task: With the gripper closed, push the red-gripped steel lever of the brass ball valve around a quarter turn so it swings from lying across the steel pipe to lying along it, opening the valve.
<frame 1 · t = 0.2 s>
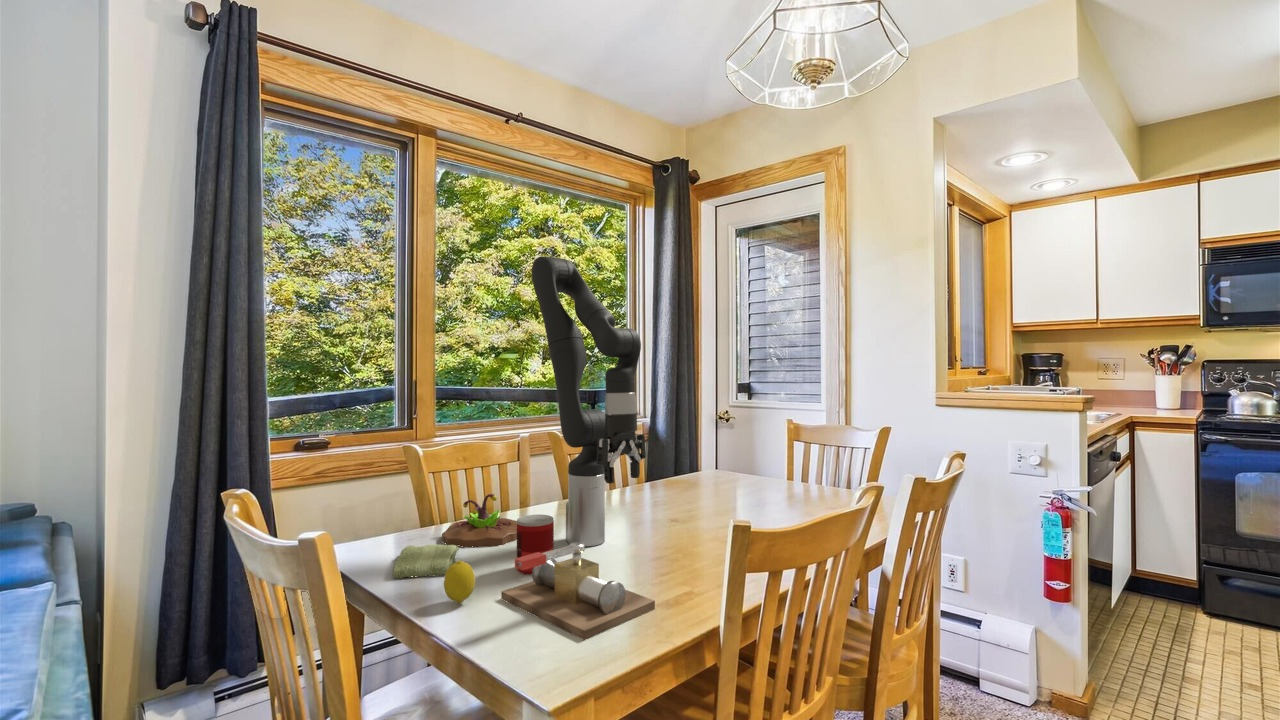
hand: (622, 480, 139), 17 cm above the table, tool pointing down, fingers open, 8 cm apart
washcloth: (426, 567, 132), on the table
valve body: (576, 603, 110), resting on walnut board
valve lever: (552, 554, 106), point 11 cm above the table, hinge at 0.0°
lemon: (459, 604, 110), on the table
plant: (484, 538, 154), on the table
walnut board: (576, 603, 110), on the table
canned food: (535, 570, 129), on the table
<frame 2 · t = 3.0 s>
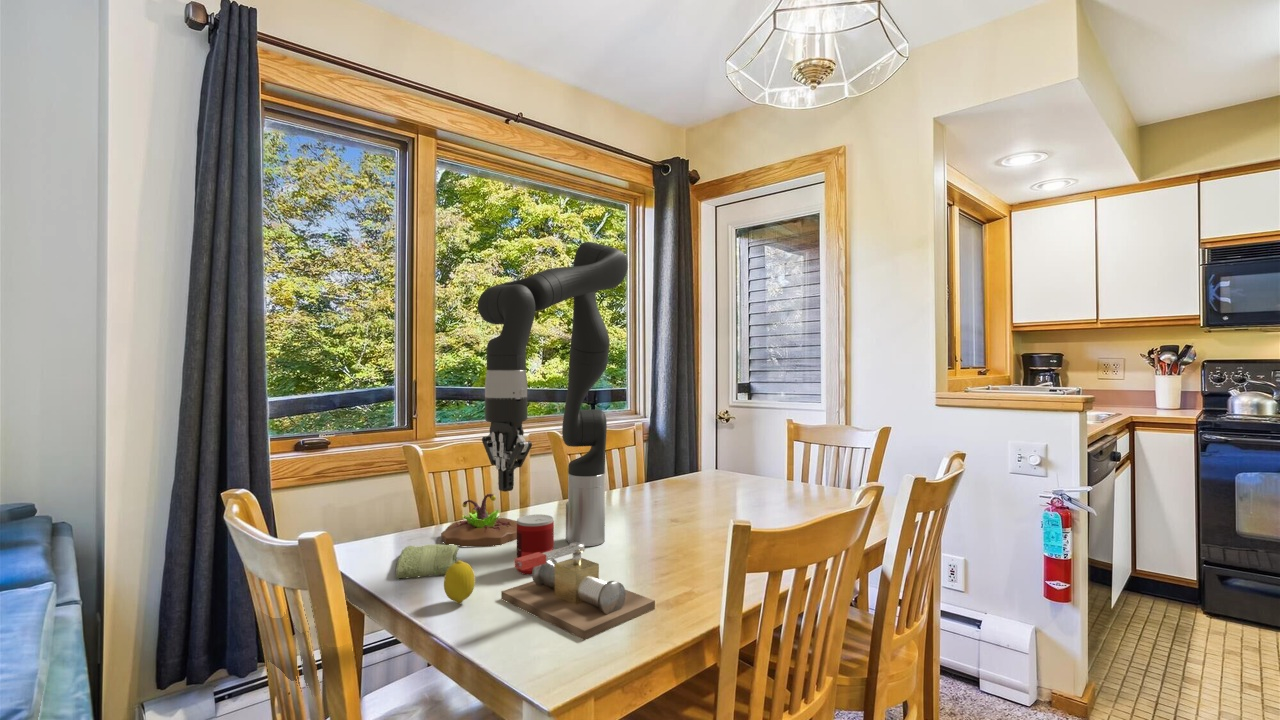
hand: (506, 490, 107), 22 cm above the table, tool pointing down, fingers closed
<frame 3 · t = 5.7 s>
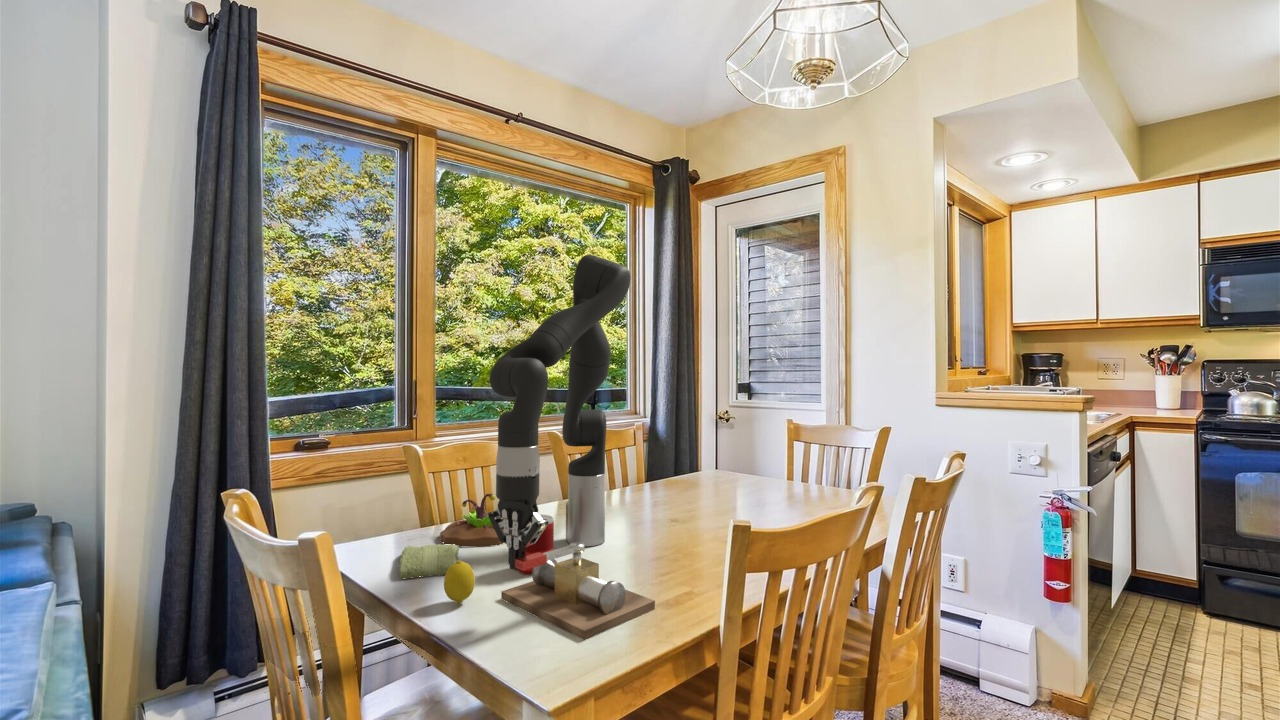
hand: (517, 568, 104), 9 cm above the table, tool pointing down, fingers closed
valve lever: (552, 554, 106), point 10 cm above the table, hinge at 1.0°, touching gripper
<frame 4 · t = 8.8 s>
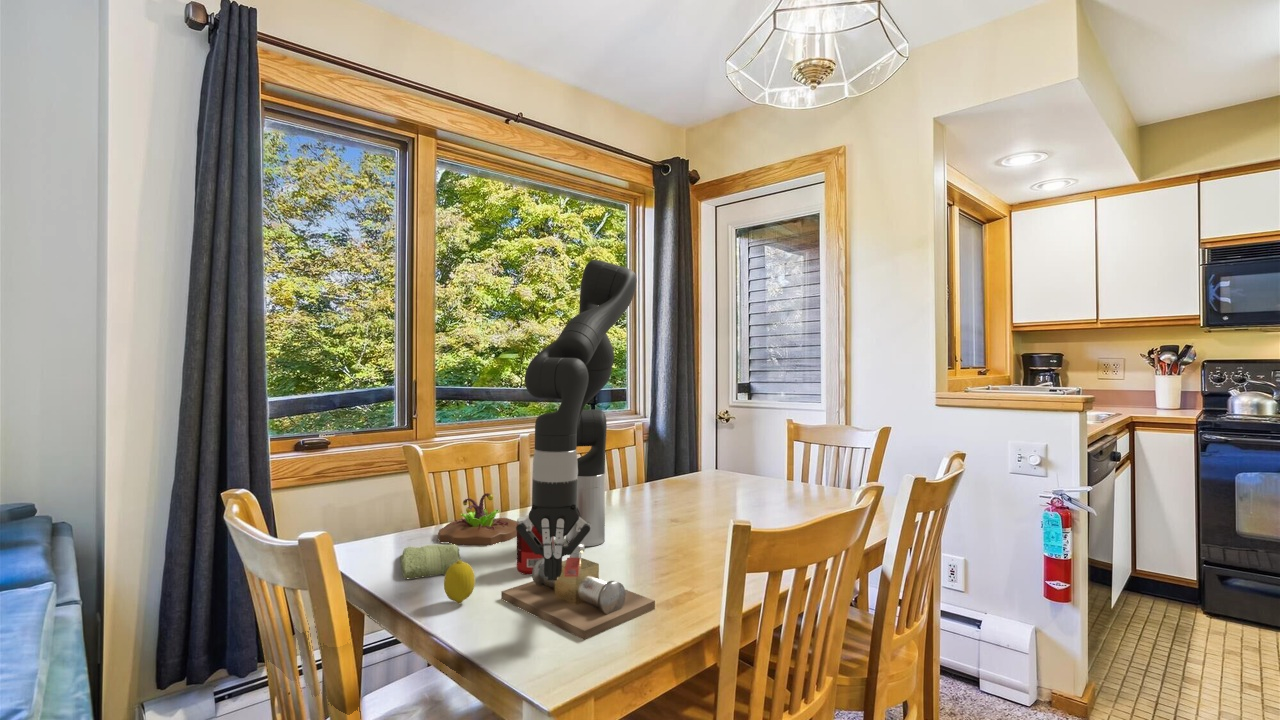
hand: (553, 578, 99), 9 cm above the table, tool pointing down, fingers closed
valve lever: (574, 557, 104), point 10 cm above the table, hinge at 45.7°, touching gripper
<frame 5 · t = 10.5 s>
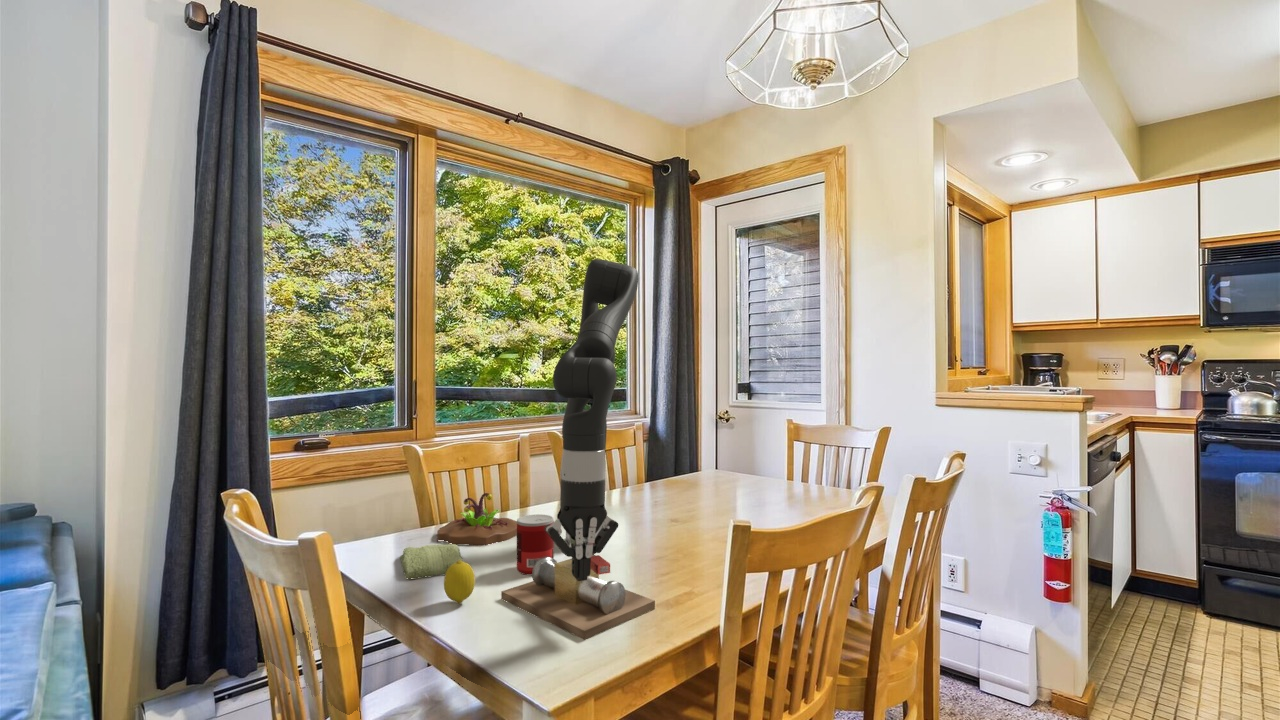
hand: (581, 579, 99), 9 cm above the table, tool pointing down, fingers closed
valve lever: (588, 556, 105), point 11 cm above the table, hinge at 70.0°, touching gripper
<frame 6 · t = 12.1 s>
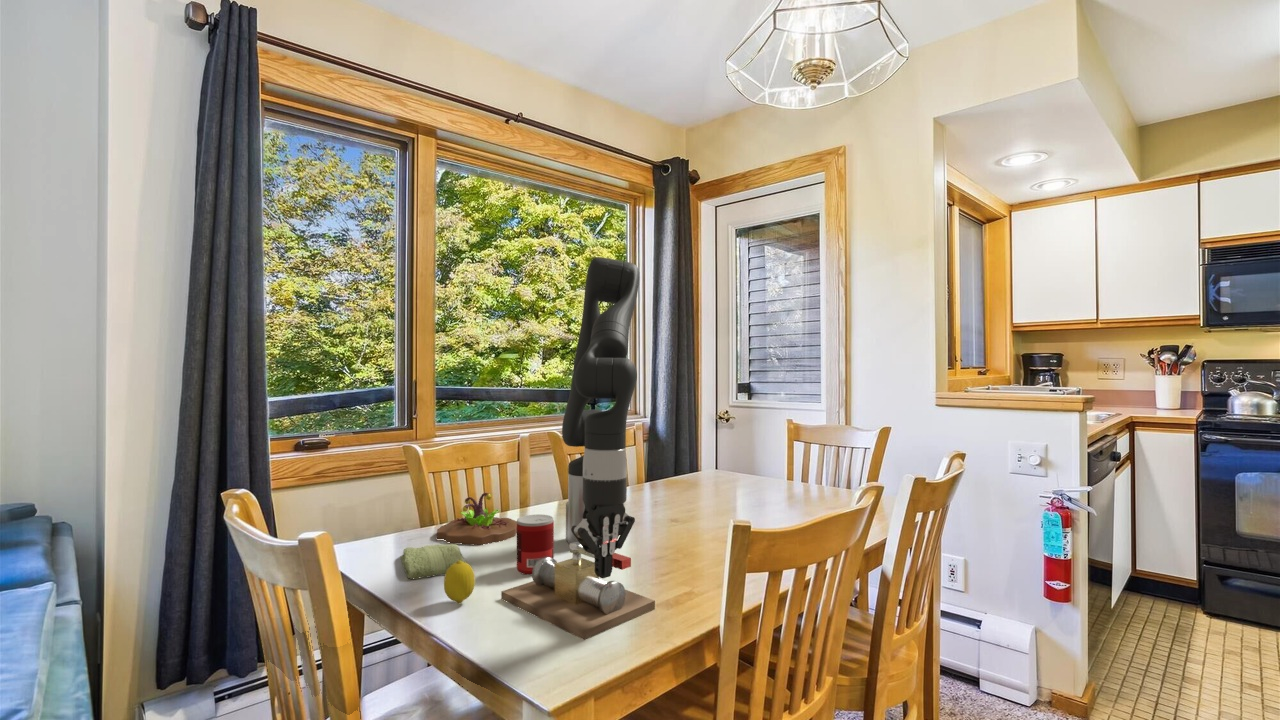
hand: (603, 576, 100), 9 cm above the table, tool pointing down, fingers closed
valve lever: (598, 554, 106), point 11 cm above the table, hinge at 90.3°, touching gripper
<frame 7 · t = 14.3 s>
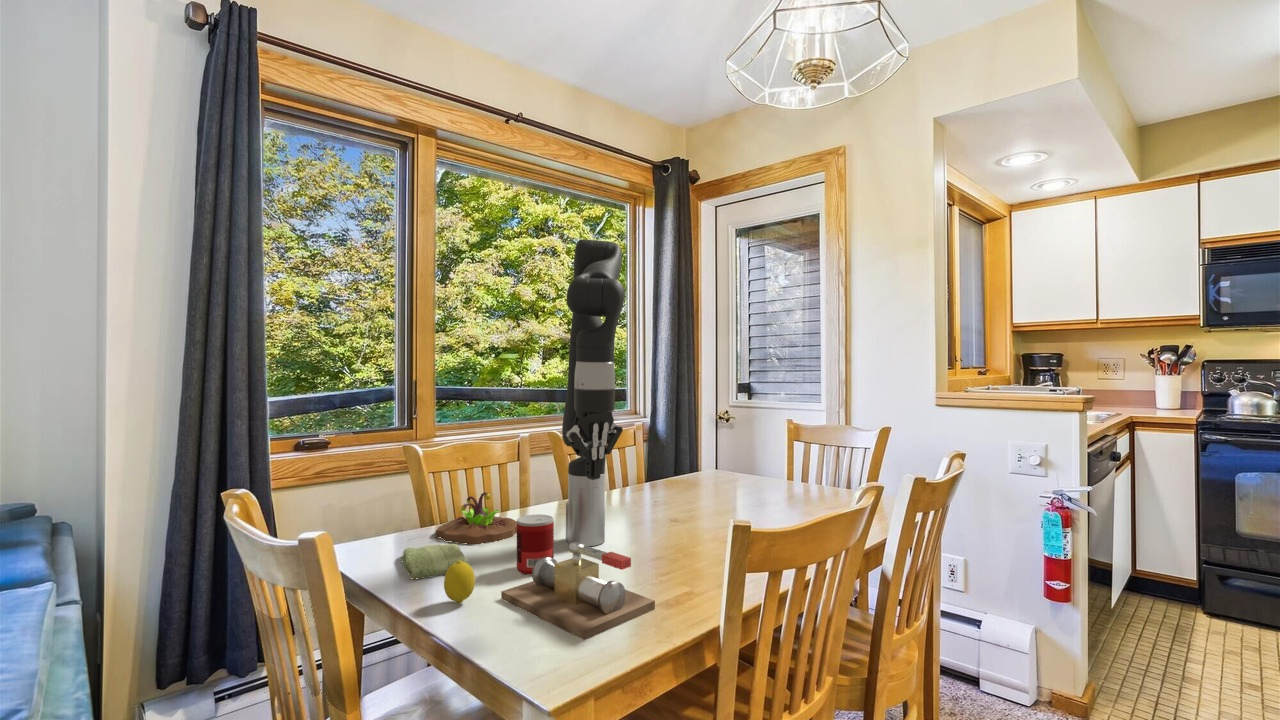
hand: (593, 478, 110), 23 cm above the table, tool pointing down, fingers closed
valve lever: (598, 554, 106), point 11 cm above the table, hinge at 90.4°
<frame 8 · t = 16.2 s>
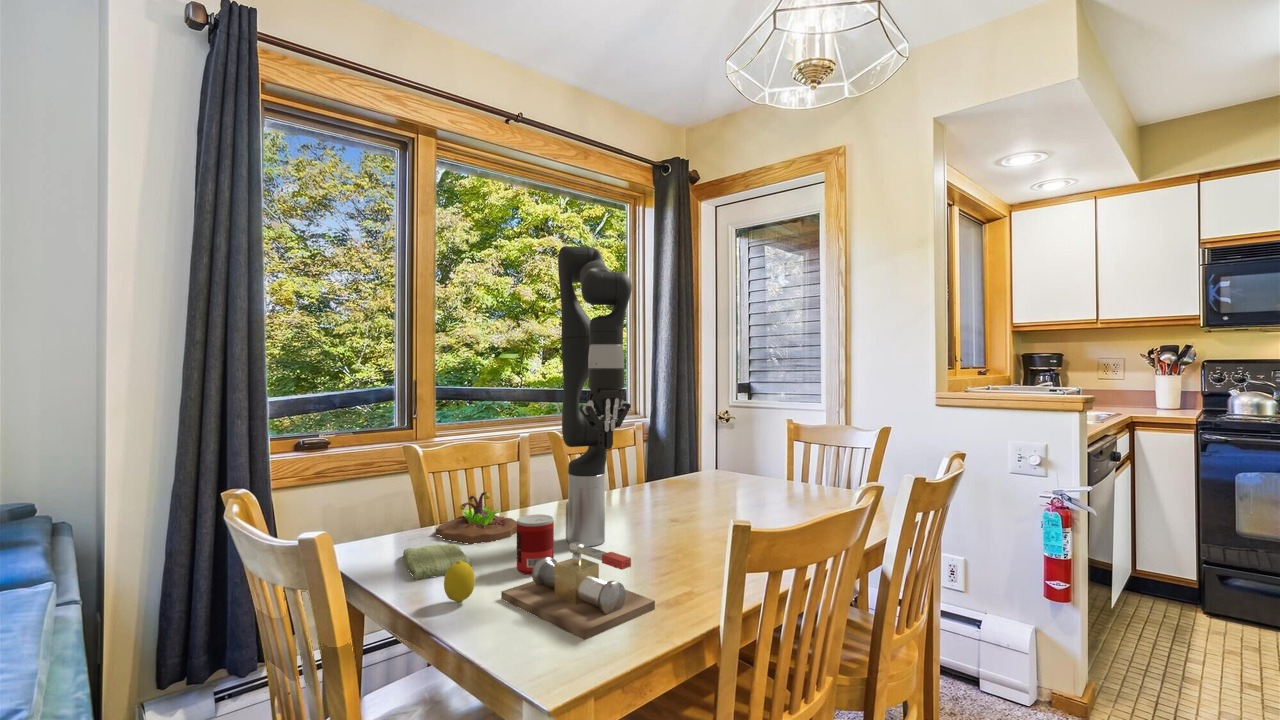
hand: (605, 448, 124), 27 cm above the table, tool pointing down, fingers closed
at the end: valve lever at +90° (first picture: +0°) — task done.
